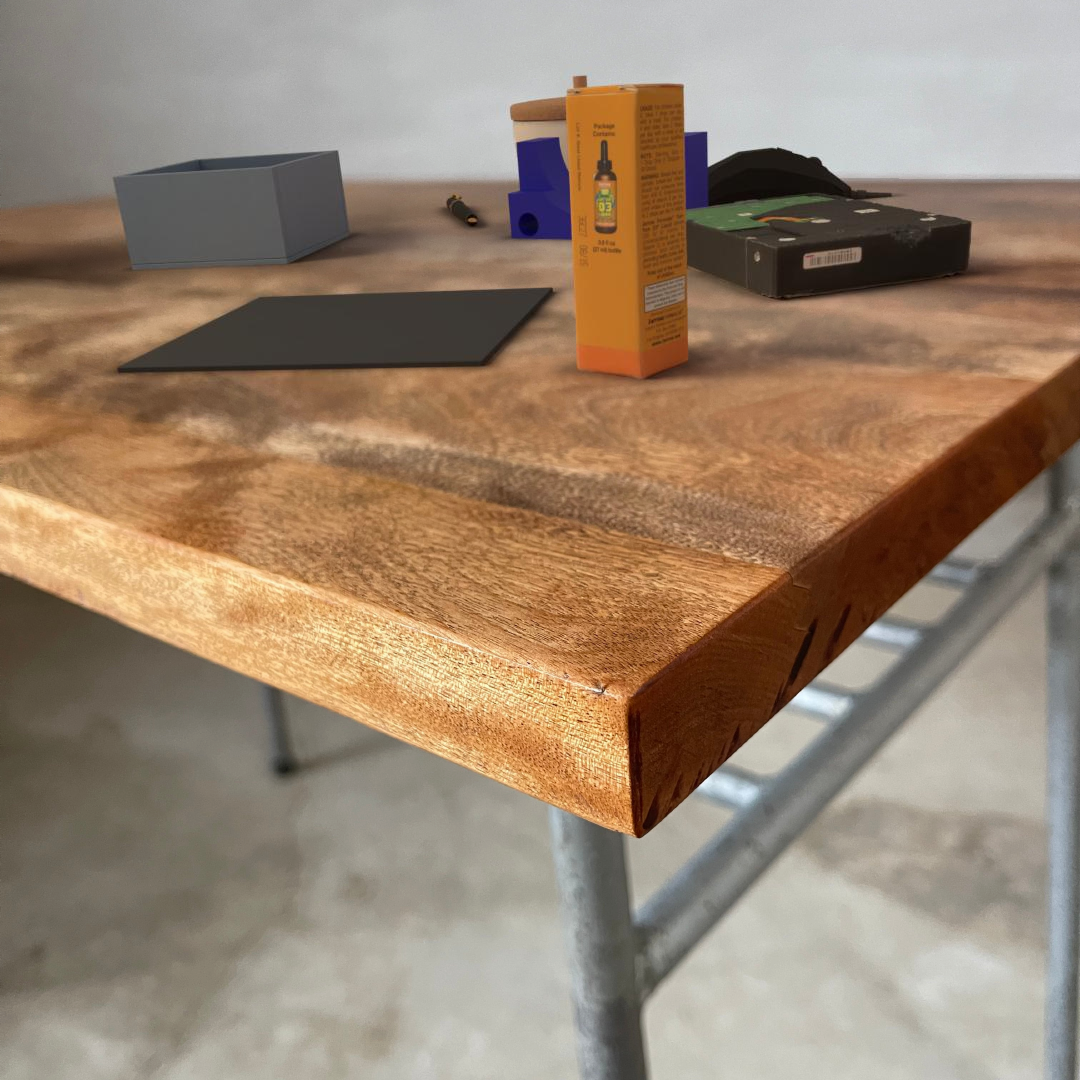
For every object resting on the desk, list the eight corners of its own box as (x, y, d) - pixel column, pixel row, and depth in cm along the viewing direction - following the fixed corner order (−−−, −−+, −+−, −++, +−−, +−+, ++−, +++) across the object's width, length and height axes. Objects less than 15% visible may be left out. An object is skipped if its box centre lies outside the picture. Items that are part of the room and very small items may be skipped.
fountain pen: (484, 231, 78) (482, 209, 78) (468, 233, 78) (466, 211, 78) (457, 208, 91) (455, 189, 91) (443, 210, 91) (441, 191, 91)
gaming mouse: (903, 204, 75) (906, 141, 74) (683, 220, 76) (681, 158, 74) (879, 193, 81) (882, 135, 79) (675, 208, 82) (674, 150, 80)
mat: (118, 376, 47) (116, 367, 47) (260, 304, 60) (259, 296, 59) (482, 370, 44) (481, 360, 43) (553, 295, 56) (552, 287, 56)
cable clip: (511, 240, 73) (503, 144, 71) (545, 229, 77) (539, 137, 74) (679, 243, 67) (677, 138, 65) (708, 231, 71) (707, 131, 69)
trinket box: (498, 219, 83) (486, 84, 80) (543, 199, 93) (535, 77, 89) (637, 215, 80) (631, 74, 76) (670, 194, 89) (666, 67, 85)
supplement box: (697, 362, 42) (692, 78, 38) (643, 384, 40) (631, 85, 36) (628, 352, 45) (616, 82, 41) (572, 373, 42) (554, 89, 38)
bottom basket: (132, 272, 73) (112, 176, 71) (211, 243, 83) (195, 159, 80) (288, 266, 71) (272, 167, 68) (350, 237, 80) (338, 150, 78)
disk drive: (973, 280, 53) (815, 237, 66) (979, 219, 51) (816, 187, 65) (774, 309, 50) (651, 258, 63) (776, 246, 49) (649, 207, 62)
